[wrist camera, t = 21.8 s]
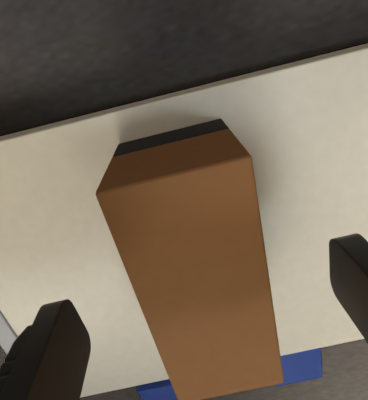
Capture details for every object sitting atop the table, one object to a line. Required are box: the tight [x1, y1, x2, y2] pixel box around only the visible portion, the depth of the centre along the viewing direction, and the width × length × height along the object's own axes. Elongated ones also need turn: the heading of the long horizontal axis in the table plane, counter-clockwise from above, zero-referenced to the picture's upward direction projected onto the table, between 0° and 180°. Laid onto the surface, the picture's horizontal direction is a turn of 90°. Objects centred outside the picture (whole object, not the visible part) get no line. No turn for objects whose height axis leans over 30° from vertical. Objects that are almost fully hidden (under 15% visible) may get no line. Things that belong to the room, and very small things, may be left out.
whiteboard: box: [0, 43, 368, 397], centre depth 15 cm, size 15×21×1 cm
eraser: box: [96, 119, 284, 400], centre depth 12 cm, size 4×9×4 cm, turn 13°
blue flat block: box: [276, 348, 322, 386], centre depth 19 cm, size 4×3×1 cm
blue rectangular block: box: [137, 379, 178, 400], centre depth 19 cm, size 4×3×1 cm
